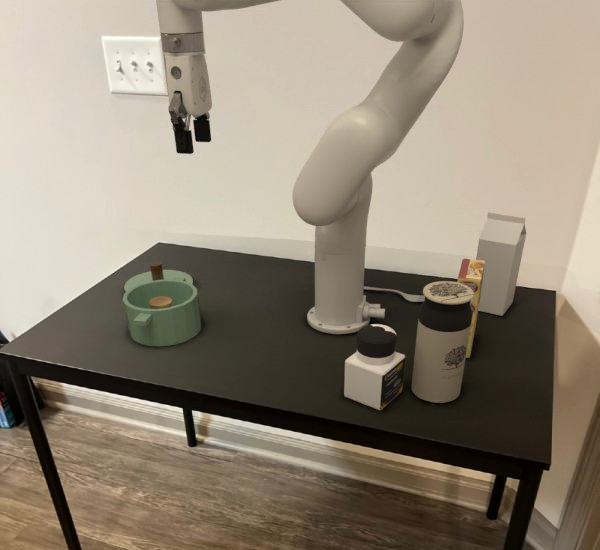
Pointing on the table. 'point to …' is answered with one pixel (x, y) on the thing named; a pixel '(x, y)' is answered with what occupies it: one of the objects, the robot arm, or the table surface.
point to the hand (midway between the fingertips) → (194, 147)
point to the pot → (163, 312)
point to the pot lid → (156, 276)
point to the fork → (407, 296)
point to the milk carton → (500, 261)
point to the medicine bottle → (374, 368)
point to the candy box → (473, 278)
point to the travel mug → (442, 341)
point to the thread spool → (160, 302)
